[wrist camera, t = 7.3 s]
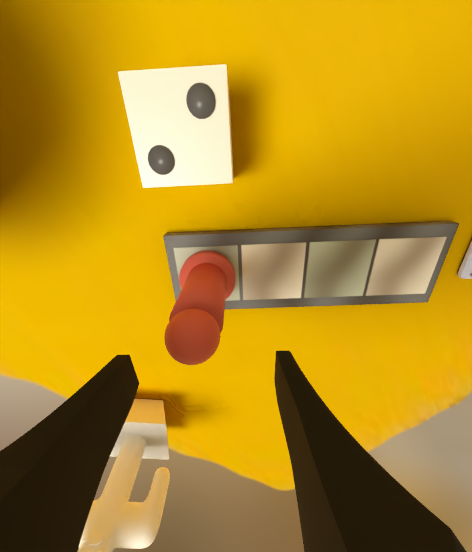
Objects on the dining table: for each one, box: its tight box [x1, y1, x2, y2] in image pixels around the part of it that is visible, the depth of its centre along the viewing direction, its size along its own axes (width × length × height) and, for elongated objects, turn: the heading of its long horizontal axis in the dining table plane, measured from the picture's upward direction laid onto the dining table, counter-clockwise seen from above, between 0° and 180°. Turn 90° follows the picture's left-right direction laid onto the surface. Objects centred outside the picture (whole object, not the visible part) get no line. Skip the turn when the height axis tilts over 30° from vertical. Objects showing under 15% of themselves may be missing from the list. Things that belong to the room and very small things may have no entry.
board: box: [163, 221, 459, 309], centre depth 20 cm, size 23×7×1 cm, turn 93°
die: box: [118, 64, 234, 188], centre depth 14 cm, size 5×5×5 cm
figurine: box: [78, 399, 170, 552], centre depth 22 cm, size 7×9×15 cm
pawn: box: [165, 250, 235, 365], centre depth 15 cm, size 5×5×9 cm
